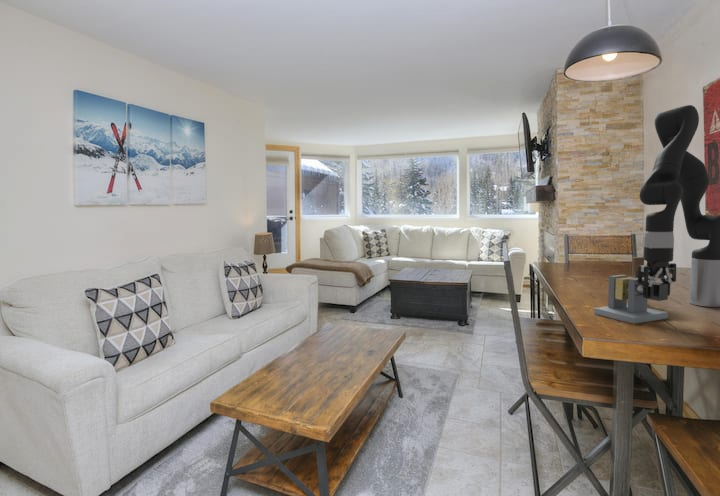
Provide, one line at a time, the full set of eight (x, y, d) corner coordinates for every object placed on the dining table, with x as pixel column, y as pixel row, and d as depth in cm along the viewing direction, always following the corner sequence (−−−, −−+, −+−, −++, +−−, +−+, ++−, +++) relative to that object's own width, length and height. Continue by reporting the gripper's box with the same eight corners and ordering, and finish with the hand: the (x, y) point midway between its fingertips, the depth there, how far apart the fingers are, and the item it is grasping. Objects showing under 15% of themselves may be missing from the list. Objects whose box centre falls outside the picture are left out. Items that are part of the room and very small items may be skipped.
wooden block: (634, 308, 144) (635, 259, 142) (629, 302, 153) (631, 256, 152) (646, 309, 142) (648, 260, 141) (641, 303, 152) (643, 256, 150)
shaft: (616, 290, 141) (617, 276, 140) (667, 299, 125) (668, 284, 124) (608, 291, 139) (608, 277, 139) (658, 300, 123) (659, 285, 123)
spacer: (629, 296, 138) (630, 276, 137) (636, 298, 135) (637, 277, 135) (615, 298, 135) (615, 278, 135) (622, 300, 133) (622, 279, 132)
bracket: (626, 308, 144) (627, 273, 143) (667, 318, 131) (669, 278, 129) (594, 313, 138) (594, 276, 137) (633, 323, 125) (634, 282, 124)
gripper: (661, 244, 130) (659, 292, 132) (630, 246, 126) (628, 296, 127) (686, 245, 123) (684, 296, 125) (655, 247, 119) (653, 301, 120)
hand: (656, 296), depth 126 cm, fingers open, 8 cm apart
